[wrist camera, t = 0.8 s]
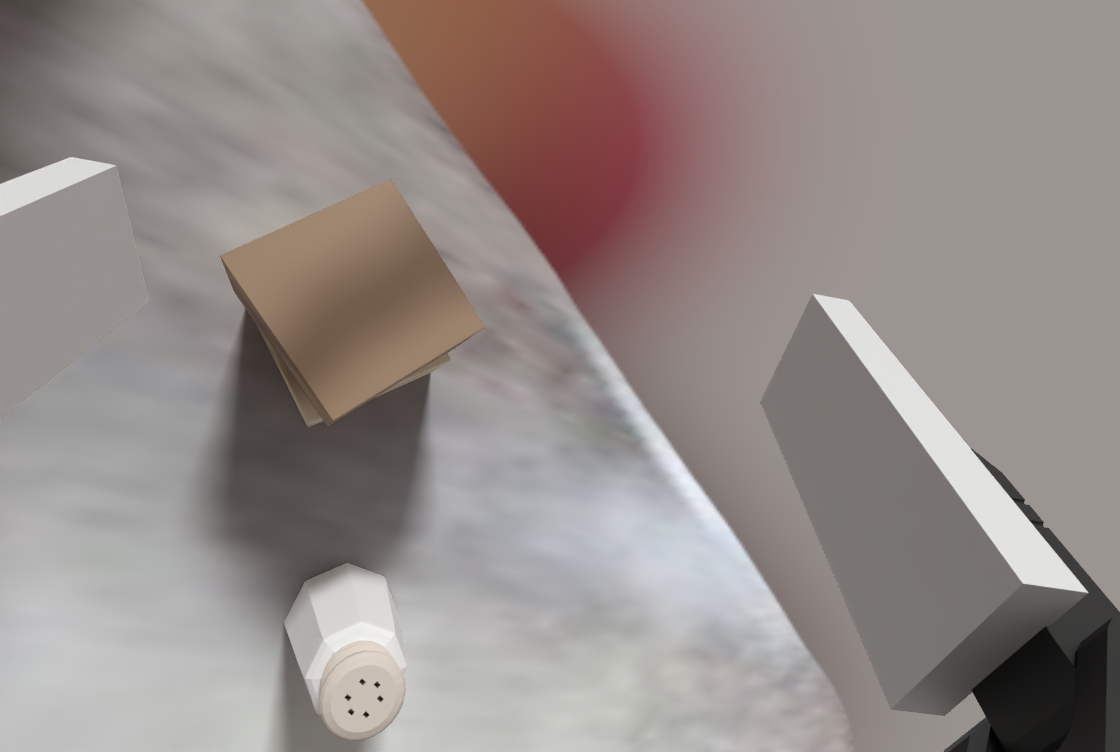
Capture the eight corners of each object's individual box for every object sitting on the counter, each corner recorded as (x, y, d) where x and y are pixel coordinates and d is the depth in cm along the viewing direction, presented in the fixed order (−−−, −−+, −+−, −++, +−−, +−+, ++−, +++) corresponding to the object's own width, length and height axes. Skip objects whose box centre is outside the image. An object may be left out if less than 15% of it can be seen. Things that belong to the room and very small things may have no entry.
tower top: (234, 291, 25) (219, 255, 21) (376, 223, 28) (390, 178, 24) (327, 426, 26) (333, 420, 22) (456, 347, 29) (485, 326, 24)
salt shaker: (348, 539, 30) (372, 580, 20) (419, 611, 31) (475, 683, 21) (258, 623, 28) (235, 715, 18) (336, 698, 29) (355, 823, 19)
